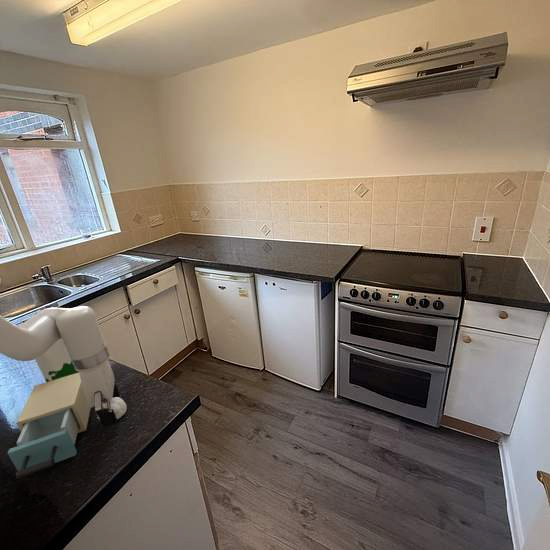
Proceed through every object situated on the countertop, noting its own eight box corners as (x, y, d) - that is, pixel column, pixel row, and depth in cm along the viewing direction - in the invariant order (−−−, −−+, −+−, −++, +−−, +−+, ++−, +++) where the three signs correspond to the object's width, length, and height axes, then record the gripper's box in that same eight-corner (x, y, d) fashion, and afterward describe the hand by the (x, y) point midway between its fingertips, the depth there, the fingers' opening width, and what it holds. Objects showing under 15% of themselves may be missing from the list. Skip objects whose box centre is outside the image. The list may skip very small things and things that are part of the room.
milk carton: (81, 374, 96) (58, 320, 89) (90, 386, 90) (67, 329, 83) (49, 390, 90) (22, 333, 83) (56, 403, 85) (28, 344, 77)
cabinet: (85, 430, 75) (74, 403, 72) (30, 449, 71) (16, 422, 68) (93, 395, 87) (83, 371, 83) (46, 410, 83) (34, 385, 80)
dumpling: (125, 403, 82) (124, 393, 81) (128, 418, 79) (127, 408, 77) (95, 412, 79) (94, 401, 77) (97, 428, 75) (96, 417, 73)
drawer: (71, 474, 63) (60, 451, 60) (11, 498, 59) (-3, 474, 57) (85, 415, 78) (76, 395, 76) (38, 431, 75) (27, 411, 72)
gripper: (79, 343, 78) (100, 394, 84) (65, 384, 63) (91, 443, 69) (111, 334, 80) (128, 385, 87) (104, 372, 65) (126, 429, 71)
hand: (112, 410), depth 78 cm, fingers open, 9 cm apart
